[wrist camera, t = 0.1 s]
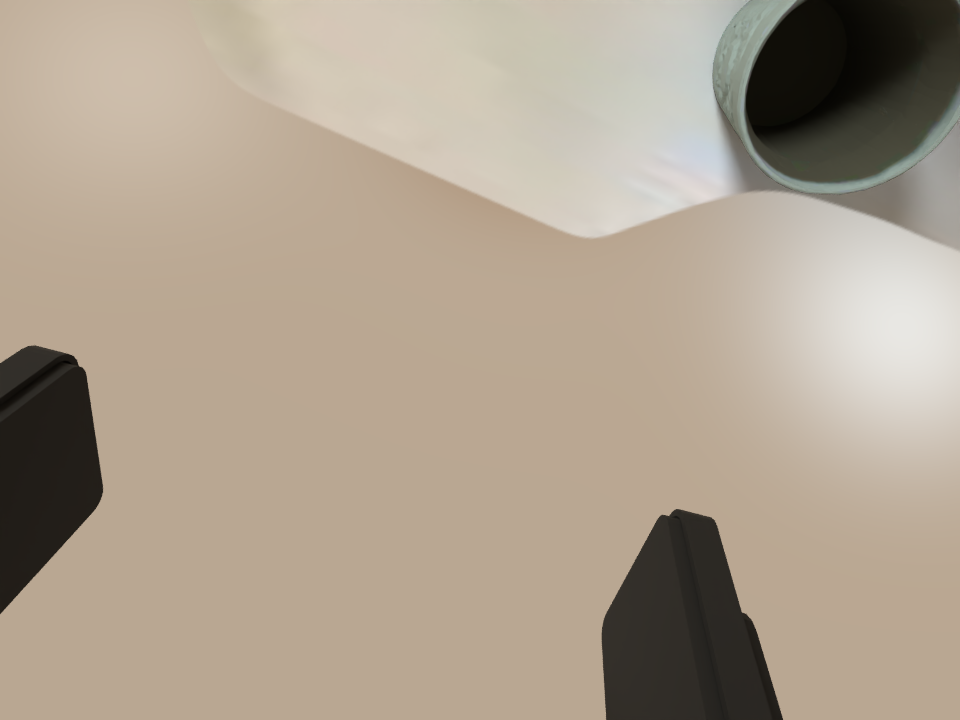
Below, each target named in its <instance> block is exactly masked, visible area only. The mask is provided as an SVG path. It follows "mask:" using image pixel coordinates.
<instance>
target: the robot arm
mask: <svg viewBox="0 0 960 720" xmlns="http://www.w3.org/2000/svg"><path fill="white" fill-rule="evenodd" d="M102 493H103V484H102V477H101V471H100V464H99V457H98V450H97V443H96V437H95V430H94V423H93V416H92V410H91V403H90V397H89V389H88V383H87V376H86V372H85V370H84V369H83V368H82V367H79V365H78V362H77V360H76V359H75V357H74V356H72V355H69V354H66V353H62V352H58V351H54V350H51V349H47V348H43V347H39V346H28V347H26V348H24V349H21V350H20V351H18V352H17V353H15V354H14V355H12V356H11V357H9V358H8V359H6V360H5V361H3V362H2V363H0V614H1V613H2V612H3V610H4V609H5V608H6V607H7V606H8V605H9V604H10V603H11V602H12V601H13V599H14V598H15V597H16V596H17V595H18V594H19V593H20V592H21V591H22V590H23V588H24V587H25V586H26V585H27V584H28V583H29V582H30V581H31V580H32V578H33V577H34V576H35V575H36V574H37V573H38V572H39V571H40V570H41V569H42V568H43V566H44V565H45V564H46V563H47V562H48V561H49V560H50V559H51V557H53V555H54V554H55V553H56V552H57V551H58V550H59V549H60V548H61V547H62V546H63V544H64V543H65V542H66V541H67V540H68V539H69V538H70V537H71V536H72V535H73V533H74V532H75V531H76V530H77V529H78V528H79V527H80V526H81V524H83V522H84V521H85V520H86V519H87V518H88V517H89V516H90V515H91V514H92V512H93V511H94V510H95V509H96V507H97V506H98V504H99V502H100V500H101V497H102ZM602 650H603V651H602V652H603V670H604V687H605V704H606V720H783V718H782V714H781V711H780V708H779V705H778V701H777V698H776V695H775V691H774V688H773V684H772V681H771V678H770V675H769V671H768V668H767V664H766V661H765V658H764V654H763V651H762V648H761V644H760V641H759V638H758V634H757V632H756V629H755V627H754V624H753V622H752V620H751V619H750V618H749V617H748V616H747V615H746V614H744V613H742V612H741V608H740V605H739V601H738V598H737V594H736V591H735V588H734V584H733V580H732V577H731V573H730V570H729V566H728V563H727V559H726V556H725V552H724V549H723V545H722V542H721V538H720V535H719V531H718V528H717V525H716V523H715V520H714V519H712V518H711V517H707V516H703V515H699V514H695V513H691V512H687V511H684V510H679V509H676V510H674V511H673V512H672V513H671V514H670V516H666V515H661V516H660V517H659V518H658V520H657V521H656V523H655V525H654V527H653V529H652V530H651V532H650V534H649V536H648V538H647V540H646V541H645V543H644V545H643V547H642V549H641V551H640V553H639V555H638V556H637V558H636V560H635V562H634V564H633V565H632V568H631V569H630V571H629V573H628V575H627V576H626V579H625V580H624V582H623V584H622V586H621V587H620V589H619V591H618V593H617V595H616V597H615V599H614V600H613V602H612V604H611V606H610V608H609V609H608V611H607V613H606V615H605V618H604V622H603V627H602Z"/></svg>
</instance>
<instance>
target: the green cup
mask: <svg viewBox="0 0 960 720" xmlns="http://www.w3.org/2000/svg"><path fill="white" fill-rule="evenodd" d="M713 88H714V91H715V95H716V98H717V101H718V103H719V105H720V107H721V108H722V110H723V112H724V113H725V115H726V116H727V118H728V120H729V122H730V123H731V125H732V127H733V128H734V130H735V132H736V133H737V134H738V136H739V137H740V139H741V141H742V143H743V145H744V147H745V148H746V150H747V152H748V154H749V155H750V157H751V158H752V160H753V161H754V163H755V164H756V165H757V166H758V167H759V168H760V169H761V170H762V171H763V172H764V173H765V174H766V175H767V176H768V177H770V178H771V179H773V180H774V181H776V182H777V183H779V184H781V185H783V186H785V187H787V188H789V189H791V190H795V191H799V192H803V193H810V194H834V195H841V194H846V193H852V192H857V191H862V190H866V189H869V188H872V187H874V186H877V185H880V184H883V183H885V182H887V181H889V180H891V179H893V178H895V177H897V176H899V175H901V174H902V173H904V172H906V171H907V170H909V169H910V168H912V167H913V166H915V165H916V164H917V163H918V162H919V161H921V160H922V159H923V158H924V157H926V156H927V155H928V154H929V153H931V152H932V151H933V150H934V149H935V148H936V147H937V146H938V145H939V144H940V143H941V141H942V140H943V139H944V138H945V137H946V136H947V134H948V133H949V132H950V131H951V129H952V128H953V127H954V125H955V124H956V122H957V121H958V119H959V118H960V0H750V1H749V2H748V3H747V4H746V5H745V6H744V7H742V8H741V10H740V11H739V12H738V13H737V14H736V15H735V16H734V18H733V19H732V20H731V22H730V23H729V25H728V26H727V28H726V29H725V31H724V33H723V35H722V37H721V39H720V42H719V44H718V47H717V50H716V54H715V58H714V62H713Z"/></svg>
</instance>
